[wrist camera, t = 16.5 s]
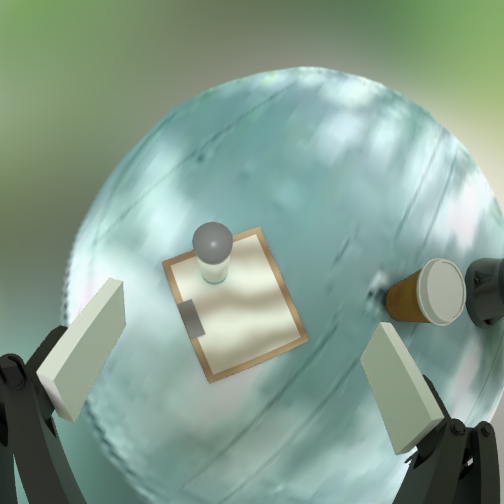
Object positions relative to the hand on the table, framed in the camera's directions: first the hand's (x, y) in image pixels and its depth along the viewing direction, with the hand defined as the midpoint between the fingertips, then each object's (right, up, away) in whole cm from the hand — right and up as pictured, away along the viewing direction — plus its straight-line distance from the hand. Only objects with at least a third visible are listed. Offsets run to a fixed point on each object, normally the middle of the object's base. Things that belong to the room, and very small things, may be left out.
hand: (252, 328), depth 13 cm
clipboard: (-2, -3, +25) cm, 26 cm away
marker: (-5, +1, +25) cm, 26 cm away
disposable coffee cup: (+25, -5, +29) cm, 38 cm away
